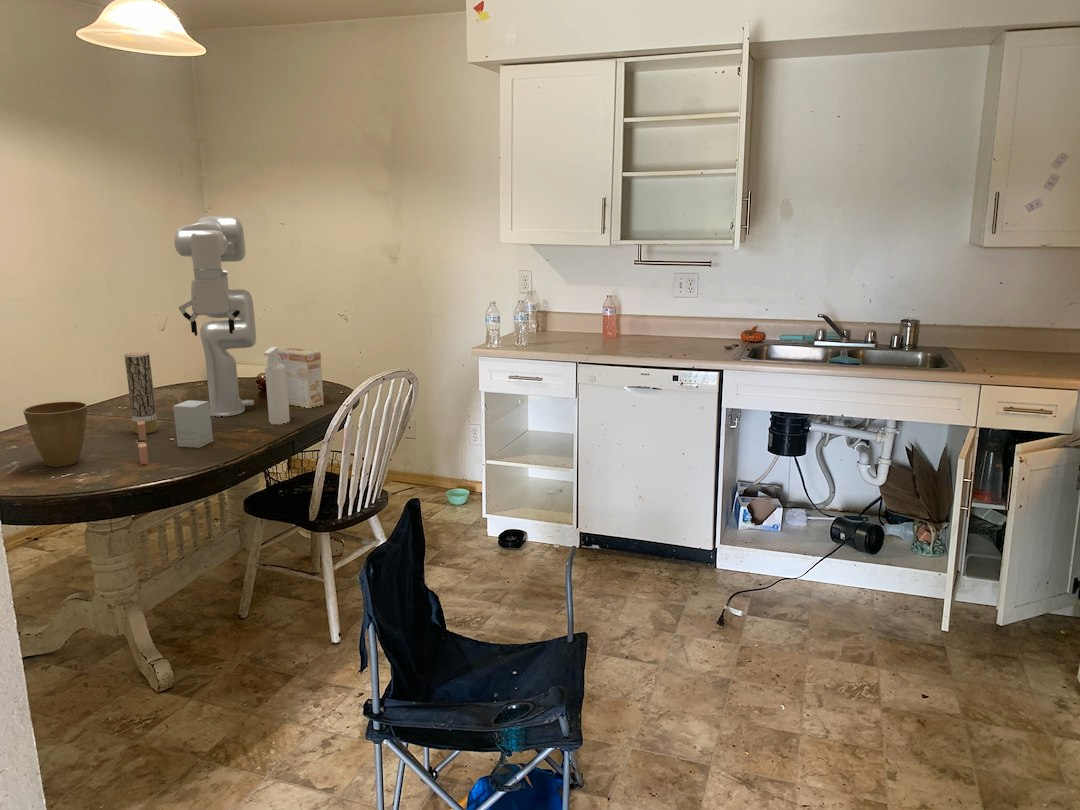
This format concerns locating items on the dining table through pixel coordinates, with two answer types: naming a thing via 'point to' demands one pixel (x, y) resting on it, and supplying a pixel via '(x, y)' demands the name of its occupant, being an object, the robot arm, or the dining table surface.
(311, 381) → the coffeecake box
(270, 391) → the white pump bottle
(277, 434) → the dining table surface
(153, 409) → the paper tube
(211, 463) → the dining table surface
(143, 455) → the pinkish brown rectangular block
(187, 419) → the supplement box
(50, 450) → the plant pot
